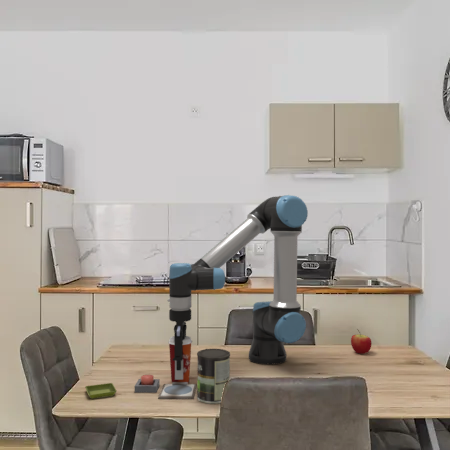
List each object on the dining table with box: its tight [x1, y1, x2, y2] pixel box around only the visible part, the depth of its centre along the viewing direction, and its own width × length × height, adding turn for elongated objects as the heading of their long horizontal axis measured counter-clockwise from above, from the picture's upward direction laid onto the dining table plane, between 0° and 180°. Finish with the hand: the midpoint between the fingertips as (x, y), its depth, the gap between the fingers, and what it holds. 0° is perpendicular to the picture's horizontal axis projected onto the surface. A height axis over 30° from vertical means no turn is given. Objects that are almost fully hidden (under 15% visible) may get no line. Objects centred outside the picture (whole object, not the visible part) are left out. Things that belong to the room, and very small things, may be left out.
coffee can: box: [196, 348, 231, 405], centre depth 150 cm, size 10×10×14 cm
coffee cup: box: [168, 335, 193, 384], centre depth 165 cm, size 8×8×15 cm
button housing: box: [134, 378, 161, 394], centre depth 158 cm, size 7×7×2 cm
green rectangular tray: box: [84, 382, 118, 400], centre depth 153 cm, size 9×9×2 cm
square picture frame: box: [157, 382, 197, 400], centre depth 155 cm, size 11×12×1 cm
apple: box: [350, 328, 372, 355], centre depth 201 cm, size 8×8×10 cm
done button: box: [140, 374, 154, 385], centre depth 158 cm, size 4×4×3 cm
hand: (180, 375), depth 165 cm, fingers closed on coffee cup, 7 cm apart
